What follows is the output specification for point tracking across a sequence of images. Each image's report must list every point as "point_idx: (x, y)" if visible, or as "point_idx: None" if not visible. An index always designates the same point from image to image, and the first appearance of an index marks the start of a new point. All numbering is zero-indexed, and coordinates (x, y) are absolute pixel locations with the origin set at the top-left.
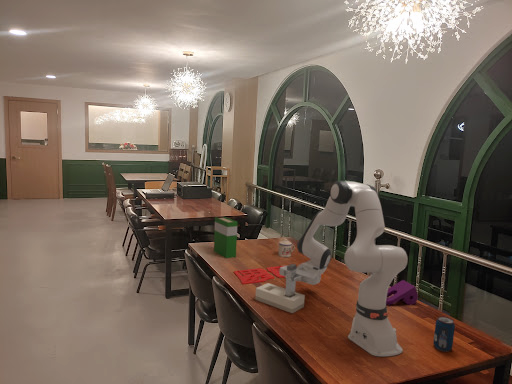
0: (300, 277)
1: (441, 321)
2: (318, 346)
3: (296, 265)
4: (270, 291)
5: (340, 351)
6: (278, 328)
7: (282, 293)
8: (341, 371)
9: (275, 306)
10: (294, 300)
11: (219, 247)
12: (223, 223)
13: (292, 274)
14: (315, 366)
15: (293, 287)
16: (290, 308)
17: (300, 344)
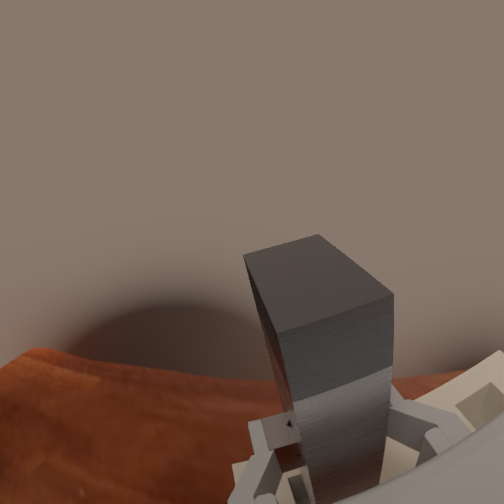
0: (232, 498)
1: None
2: (57, 401)
3: (275, 335)
4: (441, 406)
5: (11, 417)
6: (195, 383)
7: (384, 466)
8: (11, 372)
9: None
10: (234, 477)
11: None
12: None
13: (275, 374)
14: (51, 354)
15: (310, 497)
16: None
17: (98, 379)
